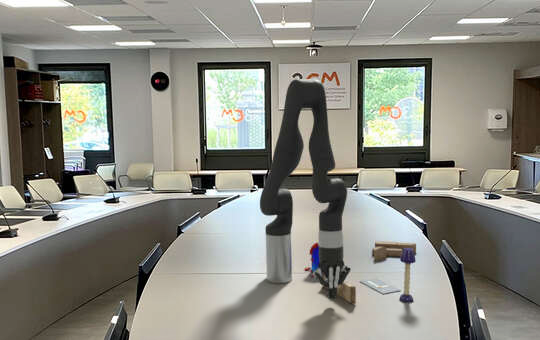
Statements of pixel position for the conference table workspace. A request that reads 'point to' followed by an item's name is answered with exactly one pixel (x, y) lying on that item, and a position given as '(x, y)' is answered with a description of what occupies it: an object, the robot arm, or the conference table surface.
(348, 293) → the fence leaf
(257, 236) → the conference table surface
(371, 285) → the card
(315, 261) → the fantasy tower
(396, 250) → the wooden block set
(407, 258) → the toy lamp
